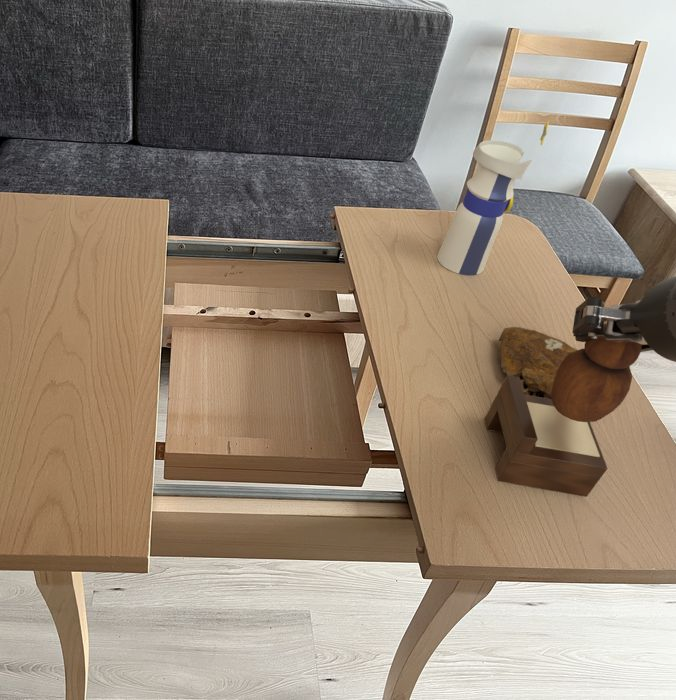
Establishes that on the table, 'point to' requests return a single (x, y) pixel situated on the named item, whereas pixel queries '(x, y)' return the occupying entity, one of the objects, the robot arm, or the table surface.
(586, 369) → the wooden figurine
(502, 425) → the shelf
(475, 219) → the water bottle
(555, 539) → the table surface
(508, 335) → the decorative rock
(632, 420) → the table surface
